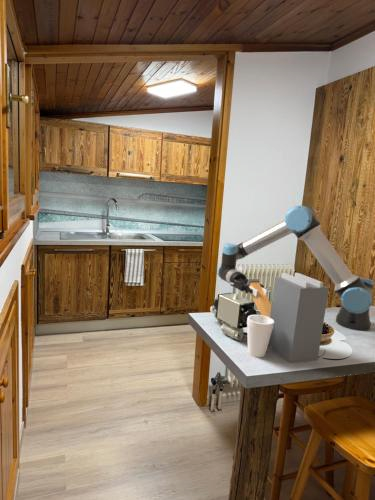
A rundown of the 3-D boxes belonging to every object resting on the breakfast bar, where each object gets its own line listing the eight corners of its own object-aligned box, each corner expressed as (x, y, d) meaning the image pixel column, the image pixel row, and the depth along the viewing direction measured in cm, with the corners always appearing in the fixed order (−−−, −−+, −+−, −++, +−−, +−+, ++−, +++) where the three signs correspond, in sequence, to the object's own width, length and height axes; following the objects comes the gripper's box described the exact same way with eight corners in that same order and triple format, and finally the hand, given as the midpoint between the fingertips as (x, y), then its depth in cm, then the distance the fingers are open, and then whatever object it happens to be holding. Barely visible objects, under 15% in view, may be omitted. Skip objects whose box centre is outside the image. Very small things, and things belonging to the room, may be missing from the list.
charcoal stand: (291, 341, 140) (301, 272, 135) (317, 359, 126) (329, 282, 121) (266, 344, 135) (275, 272, 131) (290, 362, 122) (301, 283, 117)
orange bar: (254, 286, 160) (258, 279, 157) (276, 327, 143) (281, 320, 140) (245, 286, 158) (249, 279, 155) (266, 328, 141) (271, 320, 139)
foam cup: (238, 349, 129) (242, 316, 127) (257, 345, 133) (261, 313, 131) (255, 361, 121) (259, 325, 118) (275, 356, 125) (279, 322, 123)
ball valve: (256, 343, 136) (262, 299, 133) (240, 347, 131) (246, 302, 128) (225, 326, 150) (230, 286, 147) (210, 329, 145) (214, 288, 142)
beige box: (205, 304, 154) (222, 302, 160) (203, 320, 155) (220, 317, 161) (218, 311, 146) (236, 308, 152) (217, 327, 148) (234, 324, 153)
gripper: (250, 286, 175) (277, 301, 153) (219, 286, 169) (243, 302, 147) (252, 271, 173) (279, 285, 152) (221, 271, 167) (245, 285, 146)
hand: (262, 293), depth 149 cm, fingers closed on orange bar, 4 cm apart
